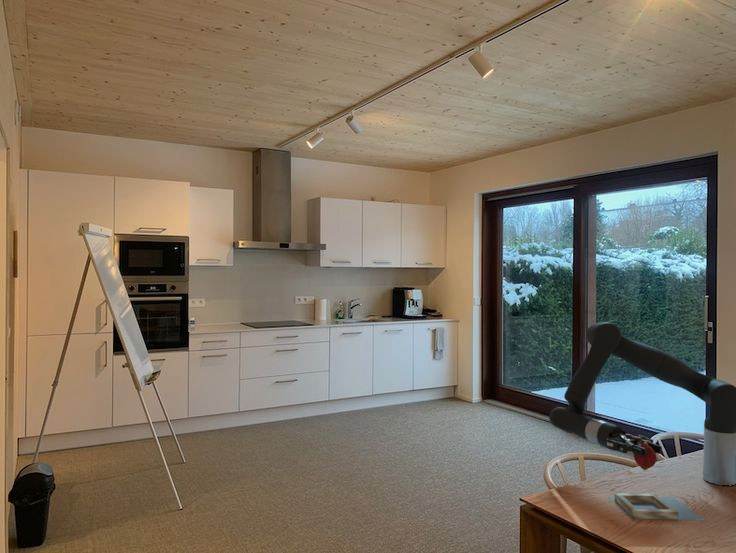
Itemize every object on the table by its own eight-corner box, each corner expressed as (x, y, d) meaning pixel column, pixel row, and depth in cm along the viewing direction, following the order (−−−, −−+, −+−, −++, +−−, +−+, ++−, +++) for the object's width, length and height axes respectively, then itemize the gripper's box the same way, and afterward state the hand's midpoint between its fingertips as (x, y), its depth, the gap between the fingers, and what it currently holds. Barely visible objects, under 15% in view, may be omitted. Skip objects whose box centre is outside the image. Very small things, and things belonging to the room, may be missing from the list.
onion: (658, 474, 152) (659, 446, 152) (636, 472, 153) (637, 444, 153) (652, 467, 158) (653, 439, 157) (631, 465, 159) (632, 437, 159)
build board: (673, 502, 164) (673, 497, 164) (704, 525, 149) (704, 520, 149) (607, 501, 164) (607, 496, 164) (631, 524, 149) (631, 519, 149)
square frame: (654, 500, 161) (655, 493, 161) (678, 519, 149) (678, 511, 149) (614, 499, 161) (614, 493, 161) (634, 518, 149) (634, 511, 149)
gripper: (587, 424, 165) (636, 441, 150) (621, 419, 171) (671, 435, 156) (587, 449, 165) (635, 468, 150) (620, 443, 171) (670, 461, 156)
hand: (653, 451), depth 153 cm, fingers closed on onion, 5 cm apart
